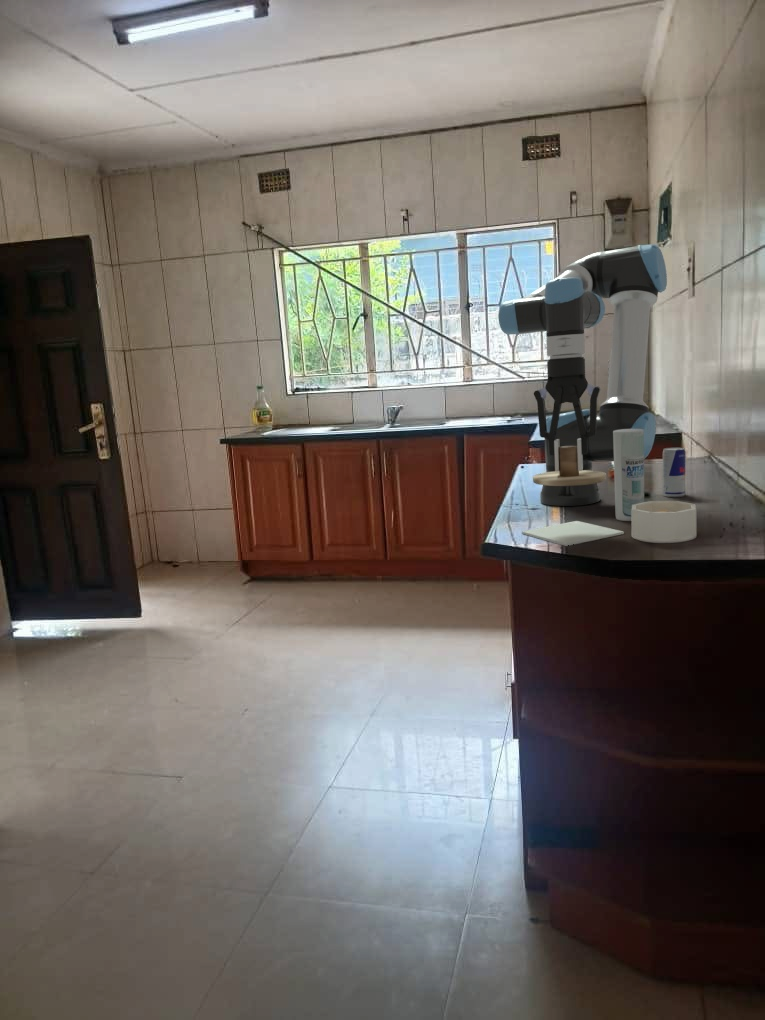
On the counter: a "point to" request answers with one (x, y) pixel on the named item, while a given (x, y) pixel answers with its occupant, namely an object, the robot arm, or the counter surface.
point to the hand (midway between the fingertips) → (569, 470)
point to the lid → (569, 471)
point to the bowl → (663, 521)
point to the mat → (572, 533)
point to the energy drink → (674, 472)
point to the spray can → (628, 470)
